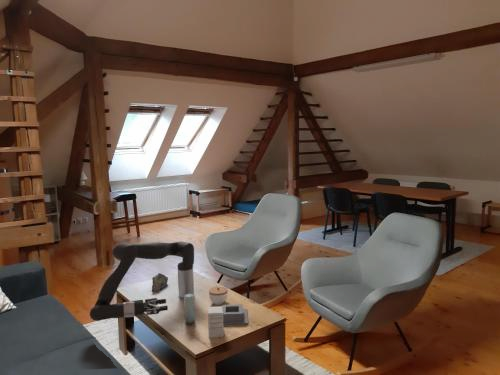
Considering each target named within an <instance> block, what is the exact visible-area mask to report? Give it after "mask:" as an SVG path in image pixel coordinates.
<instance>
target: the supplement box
mask: <svg viewBox="0 0 500 375" xmlns="http://www.w3.org/2000/svg"><path fill="white" fill-rule="evenodd" d="M207 322H208V323H207V324H208V325H207V326H208V338H209V339H211V338H224V336H225V335H224V326H223V307H222V305H217V306H208V307H207Z"/></svg>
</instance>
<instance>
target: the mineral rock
mask: <svg viewBox="0 0 500 375" xmlns="http://www.w3.org/2000/svg"><path fill="white" fill-rule="evenodd" d="M151 280H152V282H151V283H152V285H151V290H152V291H154V292H158V291H160V290H161V289H162V288H163V287H165V286H167V284H168V281H169V277H168V276H166V275H165V274H162V273H160V272H158V273H157V274H156V275H154V276H152V279H151Z"/></svg>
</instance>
